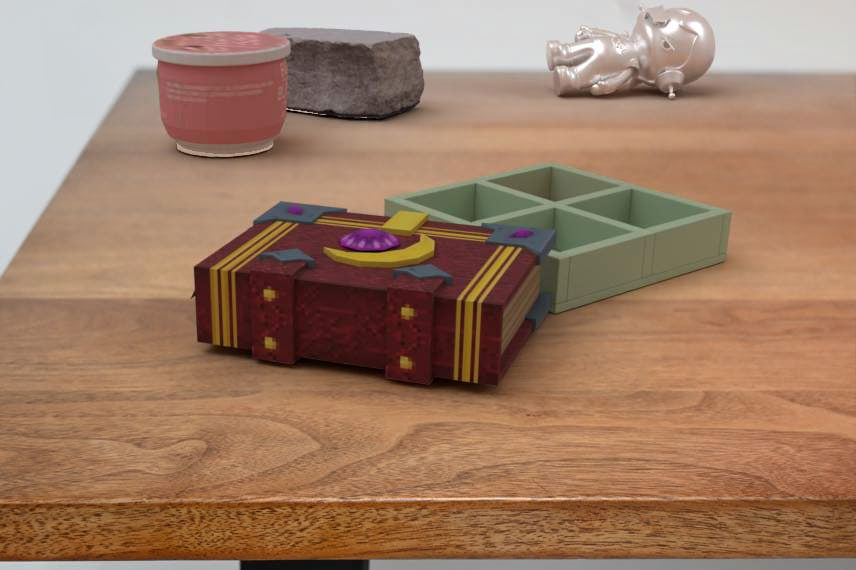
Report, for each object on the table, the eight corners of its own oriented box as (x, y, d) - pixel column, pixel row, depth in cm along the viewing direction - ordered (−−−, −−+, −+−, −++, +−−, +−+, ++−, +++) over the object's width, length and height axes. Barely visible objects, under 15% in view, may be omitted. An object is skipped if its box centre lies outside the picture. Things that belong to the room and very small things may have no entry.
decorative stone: (421, 126, 105) (425, 97, 114) (422, 43, 102) (426, 20, 111) (247, 125, 107) (265, 96, 116) (243, 43, 104) (262, 20, 113)
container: (214, 124, 105) (210, 27, 102) (318, 141, 99) (317, 38, 96) (129, 150, 97) (122, 45, 94) (237, 169, 91) (233, 58, 88)
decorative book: (499, 399, 55) (505, 292, 53) (170, 350, 60) (164, 251, 58) (551, 312, 65) (557, 219, 63) (264, 276, 70) (262, 189, 68)
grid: (548, 206, 82) (551, 161, 81) (726, 261, 72) (732, 210, 71) (383, 246, 75) (384, 197, 74) (555, 314, 65) (559, 258, 63)
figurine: (540, 1, 114) (703, -33, 114) (535, 49, 121) (689, 17, 120) (570, 98, 110) (739, 63, 110) (563, 142, 117) (722, 109, 117)
